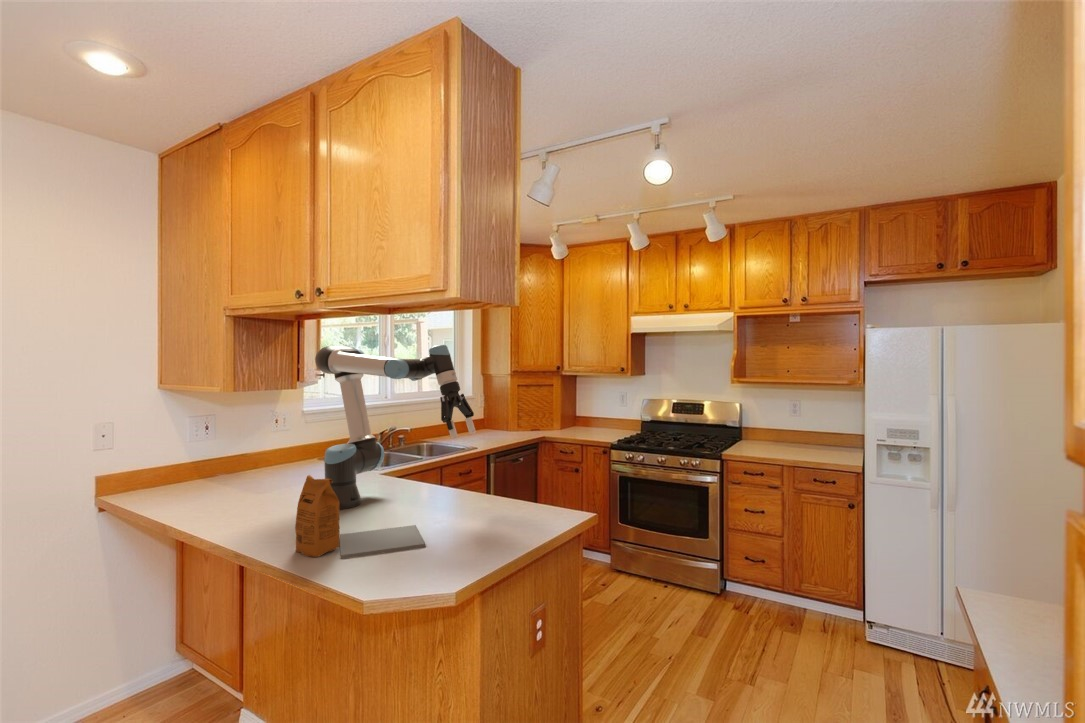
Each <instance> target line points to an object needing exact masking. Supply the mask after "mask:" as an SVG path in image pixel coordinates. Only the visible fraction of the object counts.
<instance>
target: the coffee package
mask: <svg viewBox="0 0 1085 723" xmlns="http://www.w3.org/2000/svg"><path fill="white" fill-rule="evenodd" d="M331 483H333V481H332V480H331V479H325V478H316V479H315V478H314V477H313V476H312V475H310V474H309V475H307V476H306V478H305V481H304V484H303V487H302V490H301V493H300V496H299V499H298V502H297V507H296V515H295V516H296V517H295V525H294V529H295V530H294V531H295V532H294V533H295V552H297V553H302V555H303V556H305V557H315V558H318V557H321V556H322V555H324V554H326V553H328V552H331V551H335V550H336V549H338V548H340V529H341V527H340V509H339V500H338V498H337V496H336V494H335V492H334V491H333V489H332V487H331V485H330V484H331Z"/></svg>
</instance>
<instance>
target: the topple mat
mask: <svg viewBox="0 0 1085 723" xmlns="http://www.w3.org/2000/svg"><path fill="white" fill-rule="evenodd" d="M426 544H427V543H426V542H425V540H424V538H423V536H422V535H421V533H420V530H419V529H418V526H417V525H416V524H413V525H407V526H406V525H405V526H397V527H386V528H380V529H373V530H364V531H355V532H354V531H353V532H346V533H339V549H340V550H339V551H340V552H339V553H340V559H349V558H355V557H364V556H371V555H376V554H377V555H378V554H384V553H391V552H399V551H405V550H406V551H407V550H413V549H415V550H416V549H419V548H420V549H421V548H426V546H427V545H426Z"/></svg>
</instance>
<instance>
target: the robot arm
mask: <svg viewBox="0 0 1085 723" xmlns="http://www.w3.org/2000/svg"><path fill="white" fill-rule="evenodd" d="M314 362H315V365H316V368H317V369H318V370H319V371H321V372H322V373H324V374H329V375H331V374H332V375H334V380H335V381H336V382H338V383H339V385H340V390H341V391H340V392H341V397H342V401H343V402H342V404H343V408H344V412H345V418H346V424H347V428H348V435H349V440H348V441H347V442H346V443H341V444H336V445H332V446H329V447H328V448H327V449H325V452H324V459H323V461H324V479H331V480H332V481H333V483H331V484H330V485H331V487H332V489H333V491H334V492H335V494H336V496H337V498H338V500H339V510H344V509H343V508H346V509H350V508H349V507H351V508H355V507H357V506H359V505H361V503H362V496H361V494H360V491H359V489H358V488H359V487H358V485H357V475H360V474H362V473H367V472H371V471H373V470H376V469H377V468H379V467H381V465H382V463H383V461H384V460H385V449H384V447H383V445H381V443H380V442H378V441H377V437H376V436H375V435H373V433H372V431H371V425H370V421H369V416H368V415H369V414H368V409H367V405H366V399H365V395H364V389H363V384H362V378H363V377H364V376H365V375H369V376H377V377H385V378H386V377H387V378H390V379H393V380H401V379H402V380H403V379H404V380H405V379H409V380H410V381H413V382H416V381H419V380H422V379H425V378H426V377H429V376H431V375H433V374H435V378H436V380H437V385H438V386H439V391H440V394H441V396H440V398H439V399H440V404H441V405H440V407H441V408H440V409H441V410H440V420H441V421H442V423H444V424H446V426H447V427H446V428H447V430H448V433H449V437H450V439H451V440H453V439H456V438H458V437H459V435H458V431H457V429H456V426H455V420H452V418H453V414H454V408H457V409H458V410H459V412H460V413H461V414H462V415H463V416H464V417H465V418H464V421H465V425H466V426H467V430H468V434H469V435H472V434H476V433H477V430H476V428H475V424H474V422H473V417H474V415H475V413H474V411H473V409H472V407H471V406H470V404H469V402H468V401H467V399H466V397H465V395H464V393H460V394H459V392H460V391H461V386H460V383H459V382H458V377H457V372H456V370H455V368H454V364H453V360H452V357H451V353H450V351H449V348H448V345H446V344H438V345H434V346H432V347H430V348H429V349H428V355H426V356H424V357H421V358H399V357H398V358H396V357H386V356H379V355H371V354H370V355H368V354H365V353H364V352H363V350H362V349H360V348H358V347H354V346H351V345H349V346H346V345H344V346H342V345H341V346H340V345H338V346H337V345H336V346H335V345H326V346H324V347H321V348H320V349H319V350H318V351H317V353H316V355H315V357H314ZM354 506H355V507H354Z"/></svg>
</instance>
